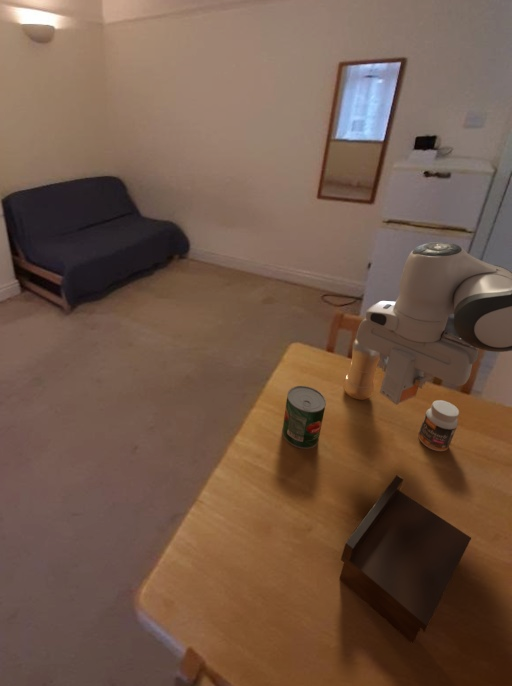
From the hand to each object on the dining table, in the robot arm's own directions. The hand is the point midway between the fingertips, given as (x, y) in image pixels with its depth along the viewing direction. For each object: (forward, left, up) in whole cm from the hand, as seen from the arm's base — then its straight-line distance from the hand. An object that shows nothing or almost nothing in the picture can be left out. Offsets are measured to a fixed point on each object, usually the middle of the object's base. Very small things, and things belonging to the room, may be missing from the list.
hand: (402, 378), depth 84 cm
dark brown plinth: (-14, +27, -16) cm, 34 cm away
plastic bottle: (+10, -7, -16) cm, 20 cm away
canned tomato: (+12, +15, -16) cm, 25 cm away
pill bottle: (-8, -5, -16) cm, 18 cm away
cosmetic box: (0, 0, -5) cm, 5 cm away
